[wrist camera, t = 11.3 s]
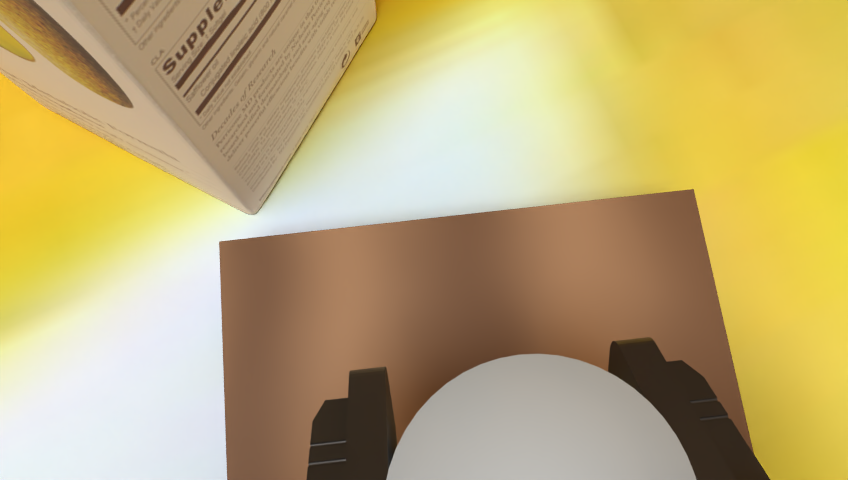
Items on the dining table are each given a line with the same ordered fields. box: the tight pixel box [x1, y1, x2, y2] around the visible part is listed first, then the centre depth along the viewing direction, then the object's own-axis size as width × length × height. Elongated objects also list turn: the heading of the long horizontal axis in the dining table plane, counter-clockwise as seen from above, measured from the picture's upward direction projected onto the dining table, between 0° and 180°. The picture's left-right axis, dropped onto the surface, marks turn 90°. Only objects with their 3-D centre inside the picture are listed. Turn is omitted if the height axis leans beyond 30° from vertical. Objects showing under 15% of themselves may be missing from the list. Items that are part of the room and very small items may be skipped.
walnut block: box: [219, 189, 754, 480], centre depth 19 cm, size 14×14×4 cm
